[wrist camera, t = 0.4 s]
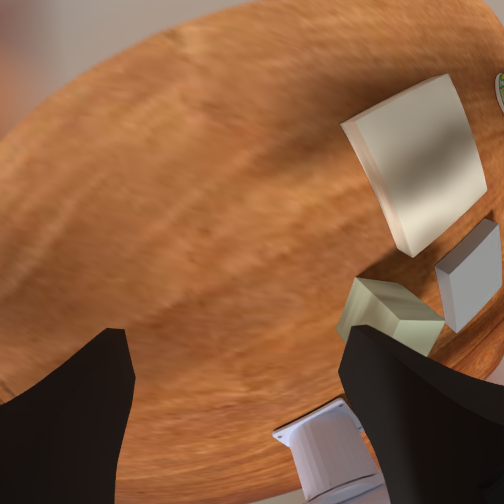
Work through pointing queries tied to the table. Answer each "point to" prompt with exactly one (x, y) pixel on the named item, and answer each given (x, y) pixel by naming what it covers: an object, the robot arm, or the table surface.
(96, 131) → the table surface
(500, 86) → the supplement bottle
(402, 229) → the pale ash block
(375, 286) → the sage green block
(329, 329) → the table surface
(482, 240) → the slate grey block
